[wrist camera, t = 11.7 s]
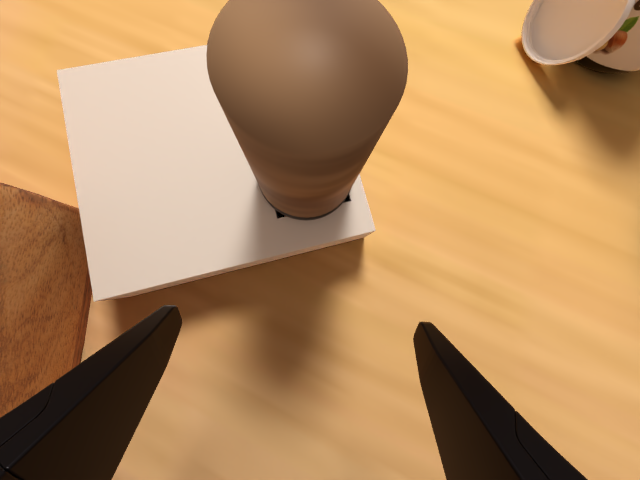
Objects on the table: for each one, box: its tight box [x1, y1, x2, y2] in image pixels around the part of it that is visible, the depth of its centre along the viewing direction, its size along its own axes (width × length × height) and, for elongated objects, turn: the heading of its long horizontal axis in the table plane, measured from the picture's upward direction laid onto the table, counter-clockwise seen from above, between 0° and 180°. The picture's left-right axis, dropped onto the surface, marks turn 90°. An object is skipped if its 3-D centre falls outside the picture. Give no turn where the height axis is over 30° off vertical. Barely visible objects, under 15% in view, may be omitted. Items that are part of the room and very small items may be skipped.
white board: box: [57, 45, 376, 301], centre depth 20 cm, size 18×16×4 cm
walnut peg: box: [206, 0, 408, 220], centre depth 15 cm, size 6×6×12 cm
